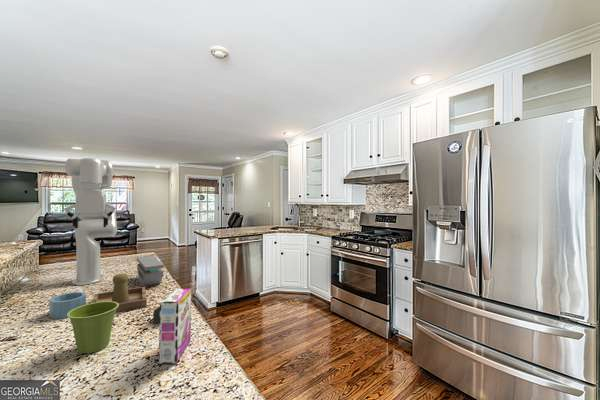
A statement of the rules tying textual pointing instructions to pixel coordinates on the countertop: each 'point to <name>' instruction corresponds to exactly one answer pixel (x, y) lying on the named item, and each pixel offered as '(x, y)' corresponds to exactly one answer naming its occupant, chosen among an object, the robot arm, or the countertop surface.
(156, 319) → the smart speaker
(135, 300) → the tray
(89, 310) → the plant pot
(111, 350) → the countertop surface
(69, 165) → the robot arm
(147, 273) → the grey lidded box
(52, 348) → the countertop surface
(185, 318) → the candy bar box
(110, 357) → the countertop surface
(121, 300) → the olive brown bulbous cylinder
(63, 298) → the blue hollow cylinder
